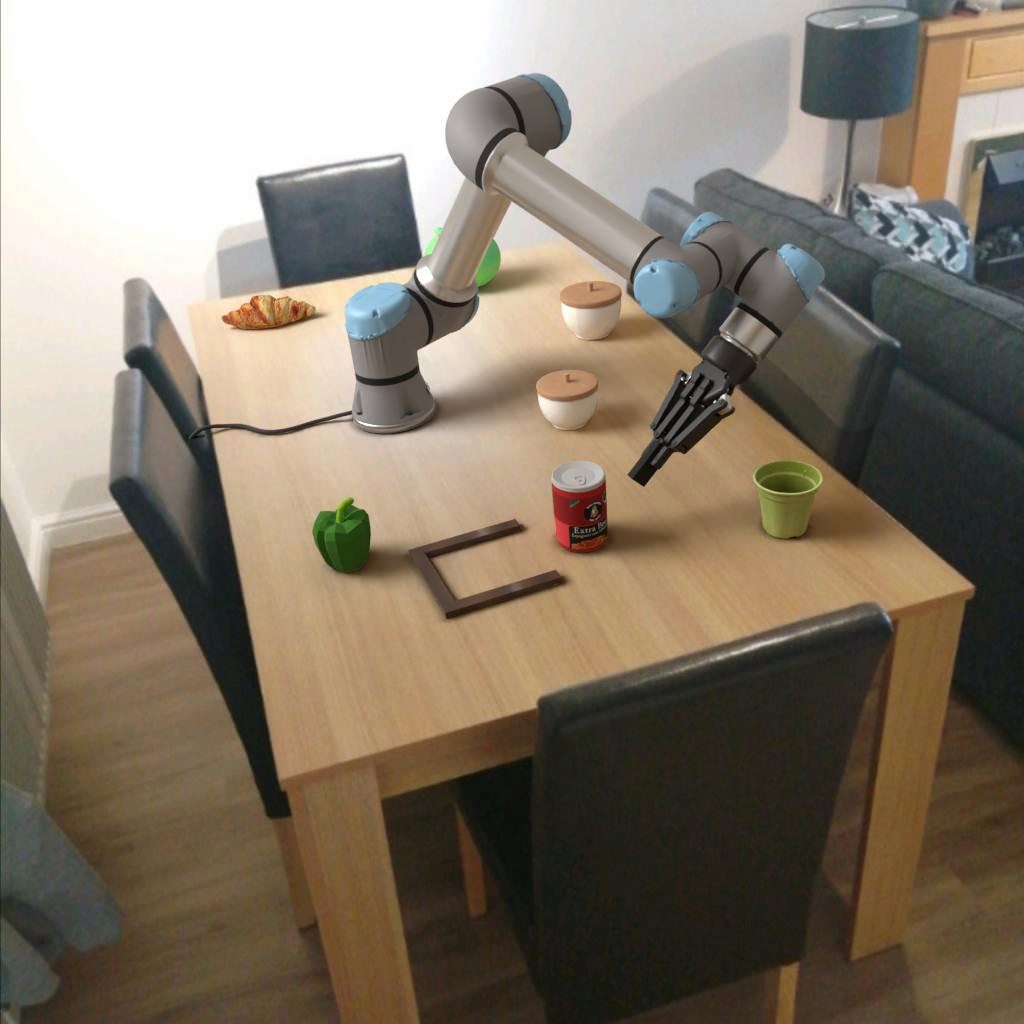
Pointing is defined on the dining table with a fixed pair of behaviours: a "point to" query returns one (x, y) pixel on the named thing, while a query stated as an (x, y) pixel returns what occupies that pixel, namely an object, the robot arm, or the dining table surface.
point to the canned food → (580, 506)
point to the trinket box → (568, 398)
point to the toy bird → (487, 265)
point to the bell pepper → (343, 536)
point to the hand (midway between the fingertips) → (635, 480)
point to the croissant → (268, 312)
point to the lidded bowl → (591, 308)
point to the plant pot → (786, 496)
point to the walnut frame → (480, 599)
